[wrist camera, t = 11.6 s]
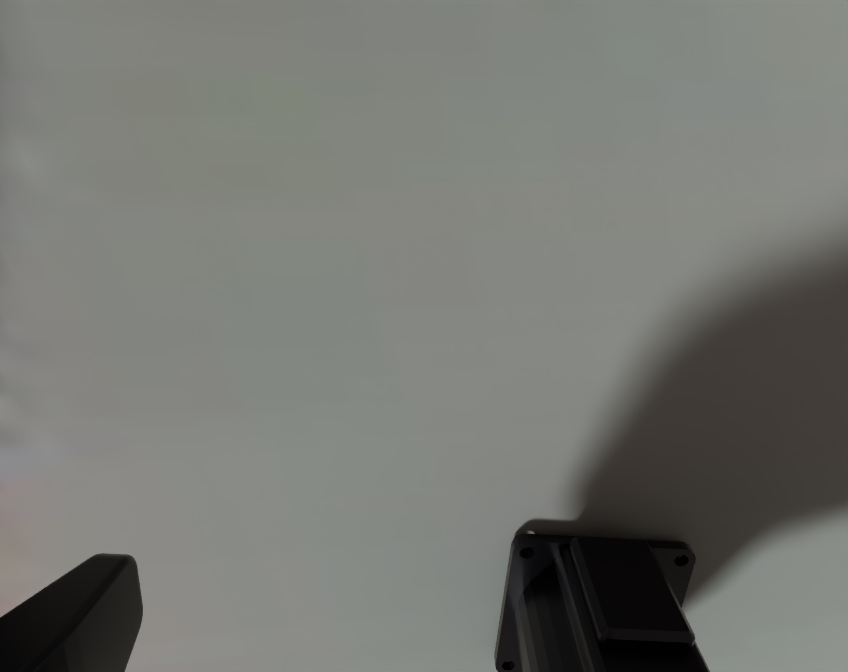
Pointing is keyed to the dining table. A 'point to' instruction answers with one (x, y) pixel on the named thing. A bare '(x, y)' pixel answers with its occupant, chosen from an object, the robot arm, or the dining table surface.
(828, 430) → the dining table surface
